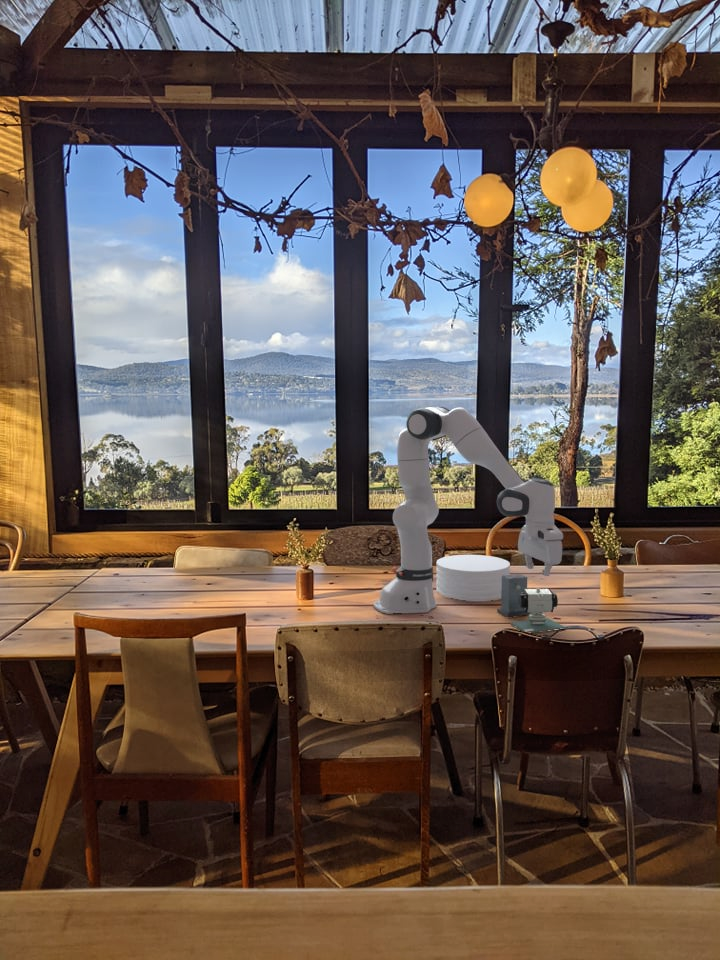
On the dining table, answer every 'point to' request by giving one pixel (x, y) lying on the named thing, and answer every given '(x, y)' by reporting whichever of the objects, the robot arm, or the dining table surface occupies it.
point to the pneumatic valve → (537, 604)
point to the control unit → (512, 595)
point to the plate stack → (471, 577)
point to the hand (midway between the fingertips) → (537, 571)
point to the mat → (537, 626)
